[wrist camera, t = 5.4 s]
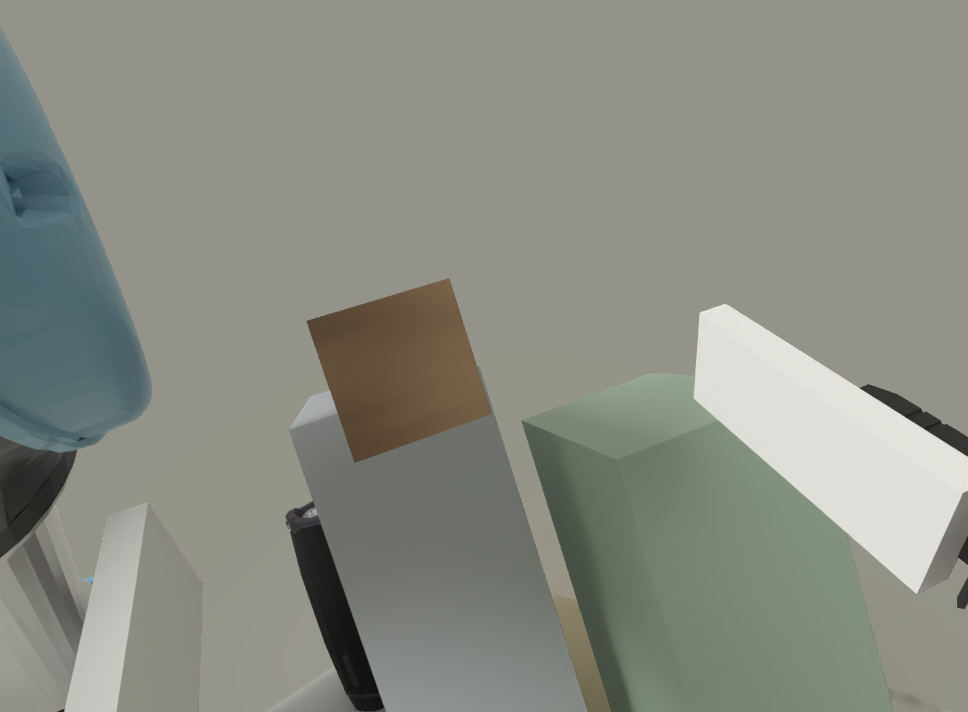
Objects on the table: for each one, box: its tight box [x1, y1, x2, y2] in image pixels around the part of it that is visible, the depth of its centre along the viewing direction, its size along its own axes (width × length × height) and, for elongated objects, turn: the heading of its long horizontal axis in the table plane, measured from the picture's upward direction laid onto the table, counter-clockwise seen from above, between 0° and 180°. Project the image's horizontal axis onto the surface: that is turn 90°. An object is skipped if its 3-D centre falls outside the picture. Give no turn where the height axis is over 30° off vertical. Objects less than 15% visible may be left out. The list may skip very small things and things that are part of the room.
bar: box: [307, 278, 492, 463], centre depth 33 cm, size 34×4×4 cm, turn 14°
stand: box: [289, 366, 588, 712], centre depth 41 cm, size 20×10×30 cm, turn 14°
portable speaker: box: [286, 501, 385, 711], centre depth 58 cm, size 9×9×20 cm
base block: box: [522, 372, 894, 712], centre depth 34 cm, size 14×10×25 cm
